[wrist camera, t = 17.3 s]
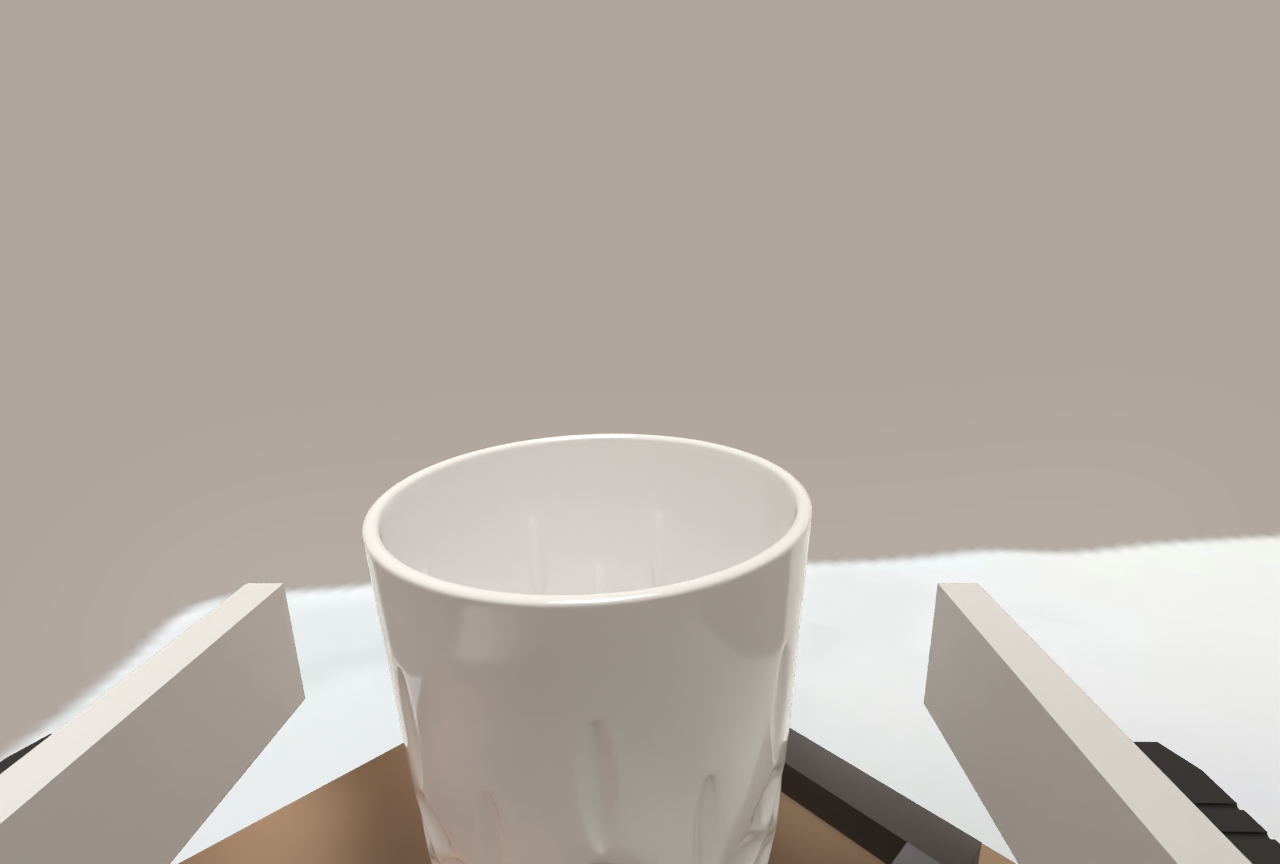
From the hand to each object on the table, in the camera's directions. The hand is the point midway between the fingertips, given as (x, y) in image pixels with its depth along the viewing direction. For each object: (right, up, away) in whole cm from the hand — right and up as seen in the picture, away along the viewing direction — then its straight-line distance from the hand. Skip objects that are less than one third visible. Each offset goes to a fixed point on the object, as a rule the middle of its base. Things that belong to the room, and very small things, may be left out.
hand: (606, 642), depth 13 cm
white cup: (0, -7, +2) cm, 7 cm away
